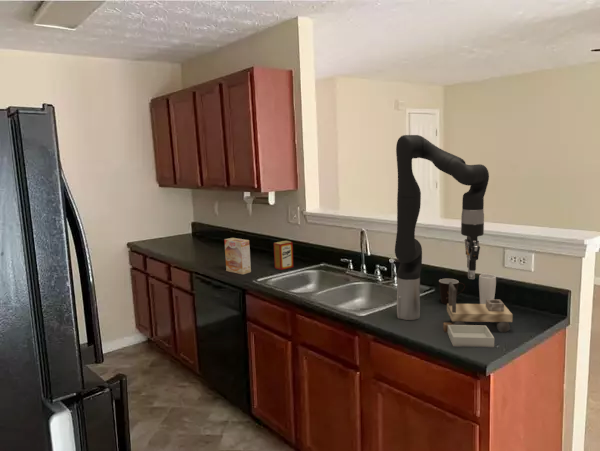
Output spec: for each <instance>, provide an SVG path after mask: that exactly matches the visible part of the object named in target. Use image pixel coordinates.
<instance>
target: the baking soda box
mask: <svg viewBox="0 0 600 451" xmlns="http://www.w3.org/2000/svg"><path fill="white" fill-rule="evenodd" d="M293 245H294V243H293V241H290V240H282V241H277V242H273V256H274V258H273V261H274V269H277V270H279V271H283V270H287V269H292V268H294V246H293Z"/></svg>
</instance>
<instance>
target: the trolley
mask: <svg viewBox="0 0 600 451" xmlns="http://www.w3.org/2000/svg"><path fill="white" fill-rule="evenodd" d="M456 291H457V290H456V288H455V287H454V285H453V284H452V282H449V304H446V312H447V314H448V318H449V321H451V322H452V323H453V324H454V325H467V324H466V322H479V323H483V322H485V323H486V322H487V323H489V322H490V323H496V328H497V330H498V331H499V332H500V333H503V334H504V333H507V332H509V330H510V329H511V326H510V323H513V319H514V318H513V317H514V316H513V315H514V314H513V313H512V312H511V311H510V309H509V308H508V307H507V306H506V305H505V303H504V302H503V301H502V300H501V299H497V298H496V299H495V298H494V299H486V304H480V303H457V298H456ZM457 292H458V291H457Z"/></svg>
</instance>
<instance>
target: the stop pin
mask: <svg viewBox="0 0 600 451" xmlns="http://www.w3.org/2000/svg"><path fill="white" fill-rule="evenodd" d="M470 252H471V251H470ZM467 255H468V268H467V279H469V280H475V278H476V270H475V271H470V270H469V254H468V249H467ZM467 255H466V256H467ZM473 256H475V255H473Z"/></svg>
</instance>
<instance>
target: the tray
mask: <svg viewBox="0 0 600 451" xmlns="http://www.w3.org/2000/svg"><path fill="white" fill-rule="evenodd" d="M446 333H447V336H448V338H449V341H450V342H451V345H452V347H454V348H455V347H456V348H457V347H458V348H459V347H462V348H463V347H464V348H465V347H466V348H495V337H494V335H493V334H492V332H491V331H490V329H489V328H488V327H487V325H485V324H484V325H482V324H480V325H477V324H475V325H474V324H466V325H448V332H446Z"/></svg>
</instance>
